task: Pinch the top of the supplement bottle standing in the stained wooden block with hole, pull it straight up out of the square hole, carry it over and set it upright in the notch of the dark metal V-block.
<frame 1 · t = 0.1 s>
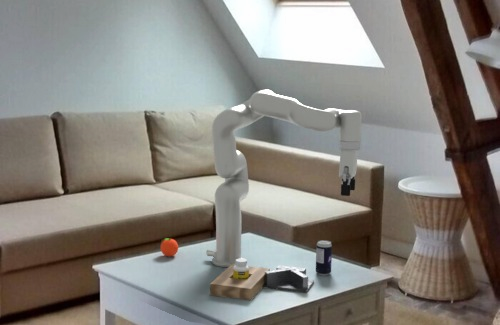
hand: (347, 192, 266), 31 cm above the table, tool pointing down, fingers open, 9 cm apart
wooden block with hole: (240, 286, 259), on the table
beverage can: (323, 274, 274), on the table
supplement bottle: (240, 287, 259), resting in wooden block with hole
clementine: (168, 256, 292), on the table
v block: (286, 287, 259), on the table
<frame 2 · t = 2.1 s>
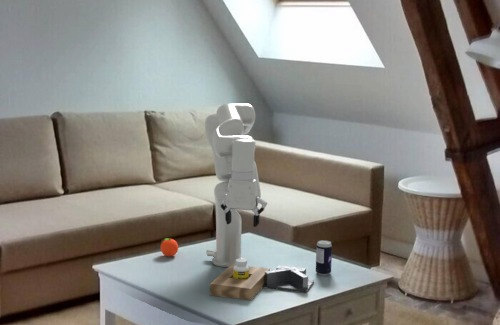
hand: (242, 224, 255), 22 cm above the table, tool pointing down, fingers open, 9 cm apart
nothing on the table moved.
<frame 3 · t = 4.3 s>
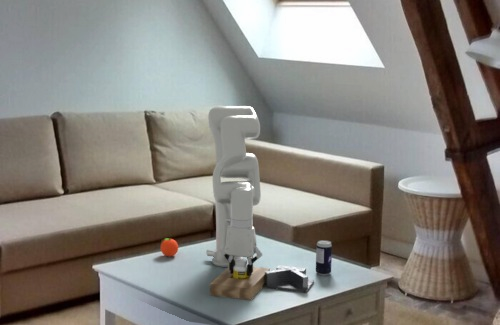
hand: (240, 273, 258), 5 cm above the table, tool pointing down, fingers closed on supplement bottle, 5 cm apart
supplement bottle: (240, 287, 259), resting in wooden block with hole, touching gripper
everything else where it was.
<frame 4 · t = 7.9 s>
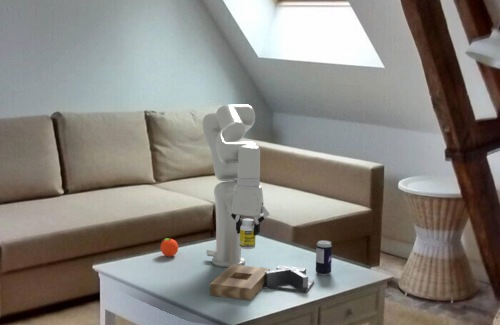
hand: (247, 233, 255), 19 cm above the table, tool pointing down, fingers closed on supplement bottle, 5 cm apart
supplement bottle: (247, 247, 256), point 14 cm above the table, touching gripper
everything else where it was.
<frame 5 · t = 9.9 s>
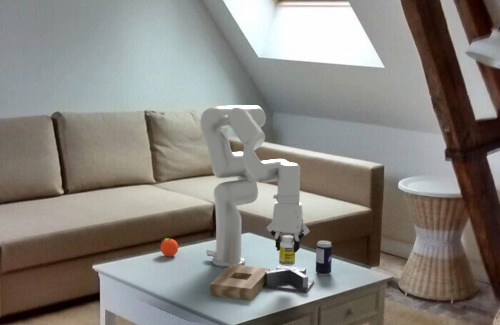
hand: (287, 249, 256), 14 cm above the table, tool pointing down, fingers closed on supplement bottle, 5 cm apart
supplement bottle: (287, 264, 257), point 8 cm above the table, touching gripper
everything else where it was.
when the fingers open (7 cm above the table, at t = 11.8 s): supplement bottle drops 1 cm, resting on v block.
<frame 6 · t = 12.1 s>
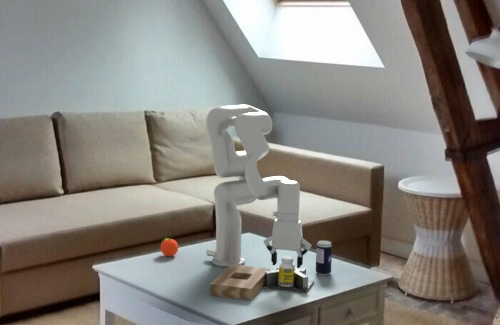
hand: (286, 265, 257), 8 cm above the table, tool pointing down, fingers open, 8 cm apart
supplement bottle: (285, 285, 259), point 1 cm above the table, touching v block
everything else where it was.
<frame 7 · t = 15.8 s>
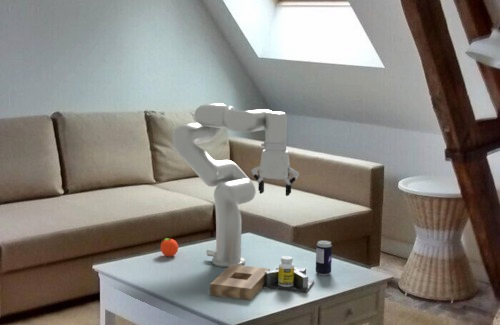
hand: (274, 194, 266), 30 cm above the table, tool pointing down, fingers open, 9 cm apart
nothing on the table moved.
at the end: supplement bottle 0.1 cm off-centre on the v block, point 0.8 cm above the v block's base; supplement bottle tilted 0°; the gripper is holding nothing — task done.
